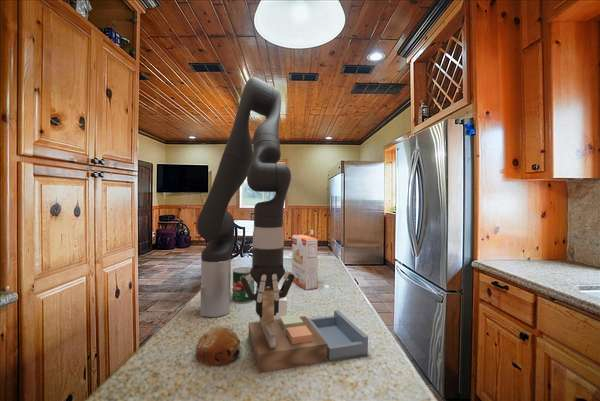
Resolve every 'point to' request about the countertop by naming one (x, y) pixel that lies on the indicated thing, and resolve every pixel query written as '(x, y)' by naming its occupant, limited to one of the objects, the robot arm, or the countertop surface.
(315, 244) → the cracker box
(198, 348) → the bread roll
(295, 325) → the sage tile
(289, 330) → the terracotta tile
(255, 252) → the robot arm
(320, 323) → the tray
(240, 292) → the canned tomato
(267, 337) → the long tan wooden block
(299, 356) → the board
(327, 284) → the countertop surface
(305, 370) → the countertop surface
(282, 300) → the pepper shaker
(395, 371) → the countertop surface
